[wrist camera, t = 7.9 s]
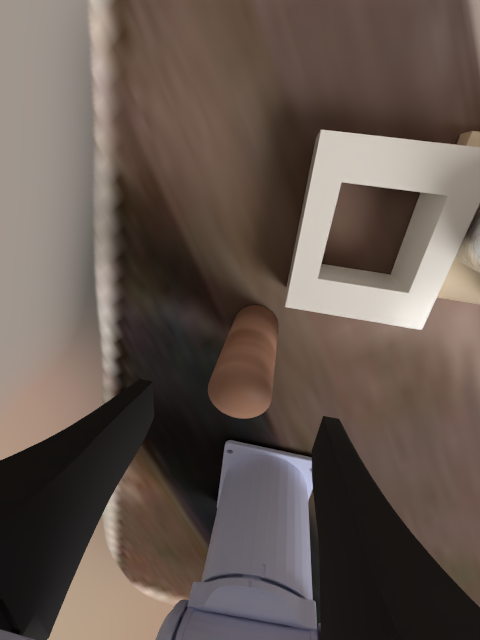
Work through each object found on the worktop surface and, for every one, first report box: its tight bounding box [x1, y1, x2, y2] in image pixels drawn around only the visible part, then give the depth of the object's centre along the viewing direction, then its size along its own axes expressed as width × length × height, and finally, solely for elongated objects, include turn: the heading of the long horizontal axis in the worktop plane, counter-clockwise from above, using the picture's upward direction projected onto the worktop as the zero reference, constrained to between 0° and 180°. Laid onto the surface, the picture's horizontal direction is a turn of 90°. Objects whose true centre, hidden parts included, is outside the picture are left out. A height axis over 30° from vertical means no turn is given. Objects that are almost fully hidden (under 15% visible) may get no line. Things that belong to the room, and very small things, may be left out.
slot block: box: [285, 130, 480, 330], centre depth 15 cm, size 8×7×3 cm
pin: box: [208, 305, 278, 418], centre depth 17 cm, size 3×3×7 cm
